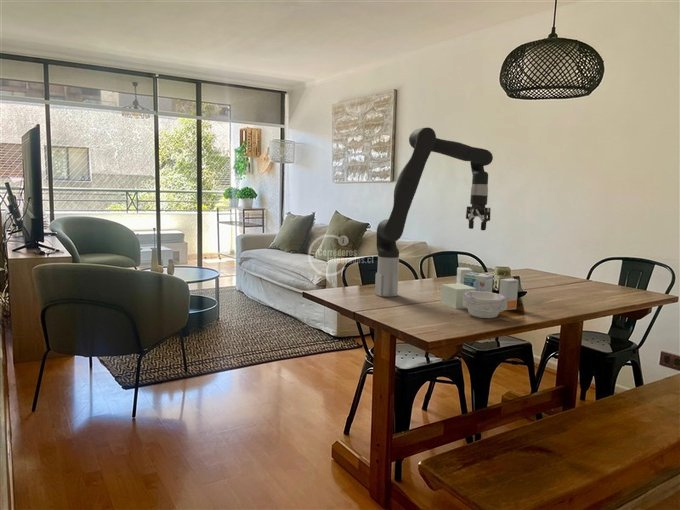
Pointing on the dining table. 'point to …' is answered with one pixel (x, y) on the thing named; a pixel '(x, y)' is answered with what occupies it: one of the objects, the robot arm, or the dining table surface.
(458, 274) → the small box
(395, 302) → the dining table surface
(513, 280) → the skincare box
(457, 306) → the sage block
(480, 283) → the light bulb box
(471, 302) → the paper bowls
